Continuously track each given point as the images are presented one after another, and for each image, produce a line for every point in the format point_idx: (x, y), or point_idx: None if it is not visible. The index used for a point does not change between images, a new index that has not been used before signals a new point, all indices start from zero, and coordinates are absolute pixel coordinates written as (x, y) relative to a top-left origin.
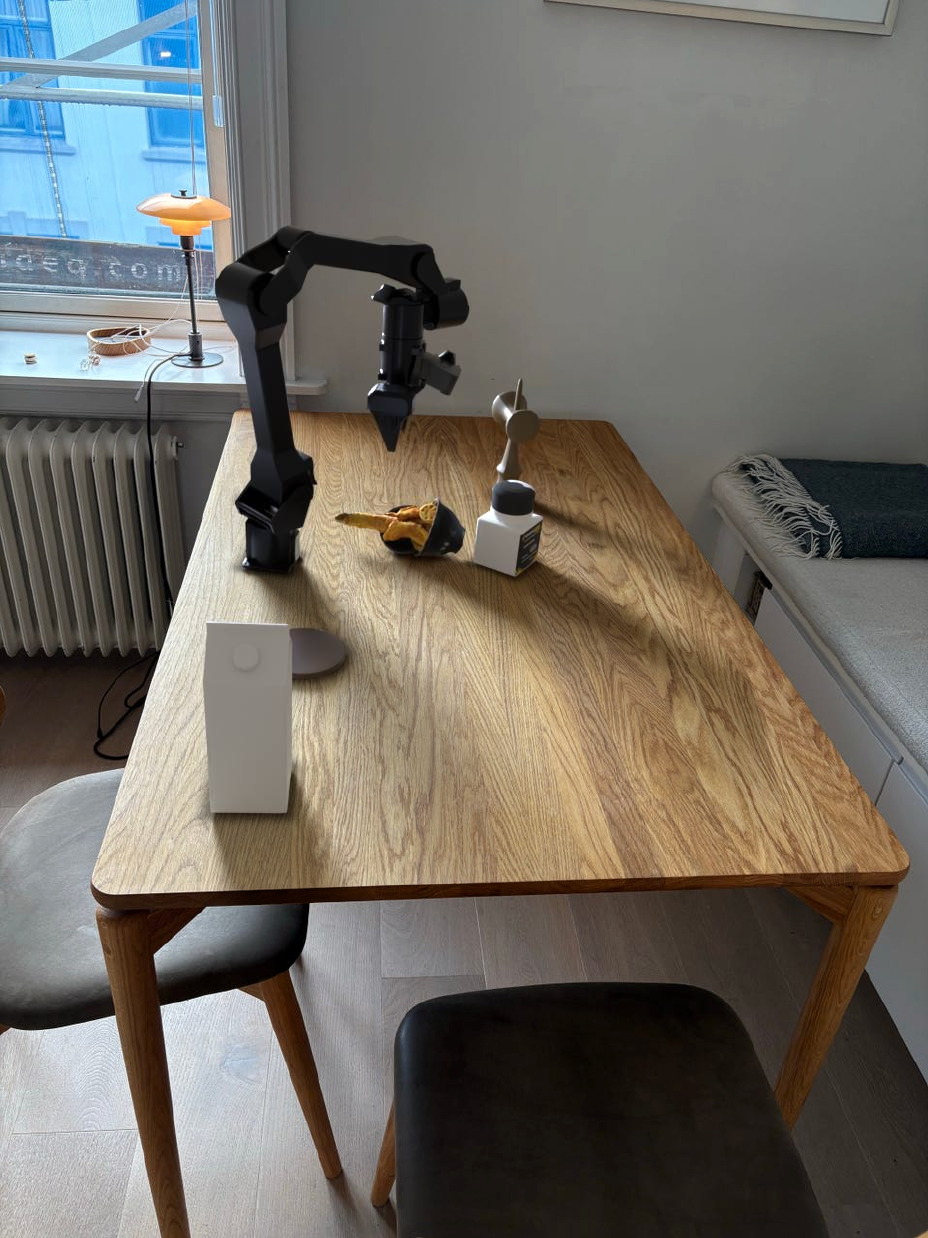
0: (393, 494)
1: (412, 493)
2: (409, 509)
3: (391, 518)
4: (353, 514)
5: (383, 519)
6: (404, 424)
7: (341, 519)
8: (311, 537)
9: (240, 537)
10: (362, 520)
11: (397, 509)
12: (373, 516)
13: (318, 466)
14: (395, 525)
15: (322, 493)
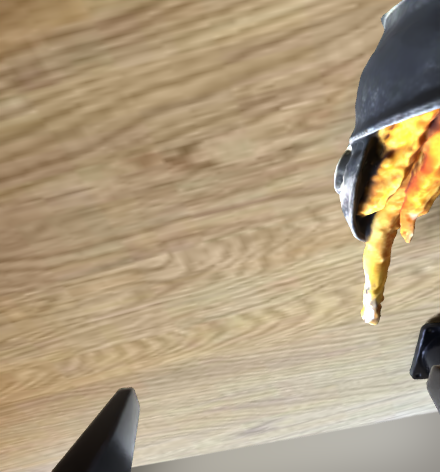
0: (119, 253)
1: (91, 219)
2: (431, 184)
3: (393, 221)
4: (378, 299)
5: (389, 237)
6: (123, 420)
7: (380, 310)
8: (357, 324)
9: (375, 395)
10: (386, 275)
11: (355, 220)
12: (382, 261)
13: (81, 386)
14: (433, 201)
15: (182, 354)
